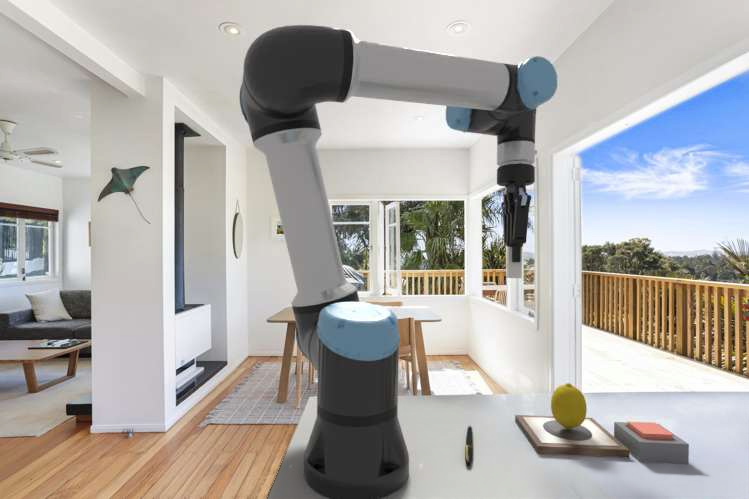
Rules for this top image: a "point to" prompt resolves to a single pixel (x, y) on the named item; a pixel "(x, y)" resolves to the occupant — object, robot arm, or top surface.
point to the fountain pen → (469, 447)
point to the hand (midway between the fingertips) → (514, 277)
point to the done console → (652, 446)
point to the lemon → (568, 406)
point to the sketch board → (569, 437)
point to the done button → (649, 430)
